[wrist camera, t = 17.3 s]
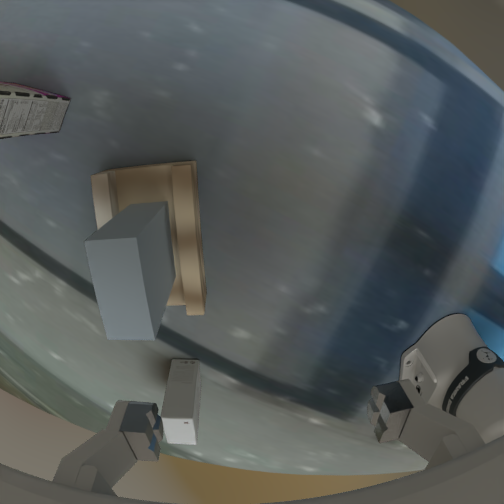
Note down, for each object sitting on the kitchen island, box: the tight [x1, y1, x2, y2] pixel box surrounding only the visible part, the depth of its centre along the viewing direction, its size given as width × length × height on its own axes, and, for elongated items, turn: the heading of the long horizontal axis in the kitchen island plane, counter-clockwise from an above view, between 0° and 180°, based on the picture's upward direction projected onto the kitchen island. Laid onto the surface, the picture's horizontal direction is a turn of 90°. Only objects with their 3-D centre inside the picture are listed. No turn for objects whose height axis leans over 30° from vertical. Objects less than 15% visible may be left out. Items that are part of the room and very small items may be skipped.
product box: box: [84, 201, 176, 340], centre depth 30 cm, size 5×9×13 cm, turn 2°
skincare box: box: [161, 359, 201, 445], centre depth 41 cm, size 6×4×12 cm
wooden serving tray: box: [91, 161, 207, 315], centre depth 36 cm, size 17×11×6 cm, turn 2°
